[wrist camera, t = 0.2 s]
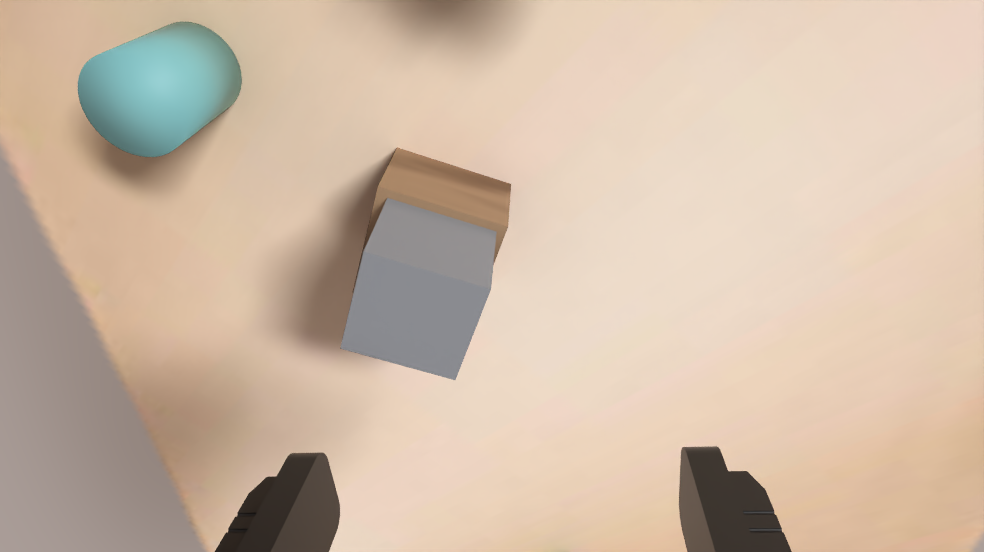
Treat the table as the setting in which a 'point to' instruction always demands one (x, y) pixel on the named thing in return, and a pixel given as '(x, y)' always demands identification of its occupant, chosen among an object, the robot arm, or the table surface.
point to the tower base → (443, 193)
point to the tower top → (420, 289)
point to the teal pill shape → (159, 88)
